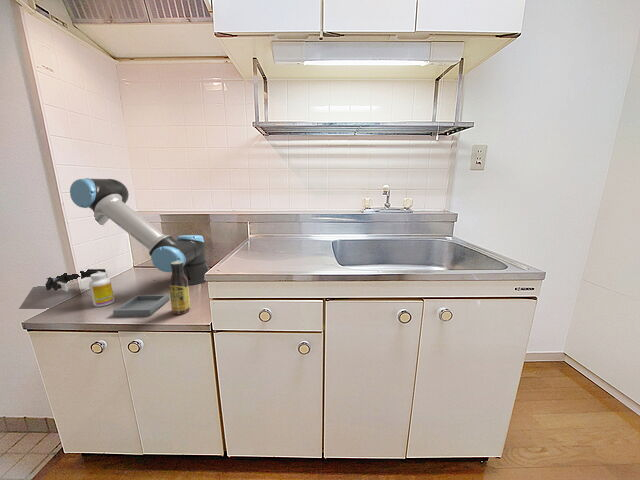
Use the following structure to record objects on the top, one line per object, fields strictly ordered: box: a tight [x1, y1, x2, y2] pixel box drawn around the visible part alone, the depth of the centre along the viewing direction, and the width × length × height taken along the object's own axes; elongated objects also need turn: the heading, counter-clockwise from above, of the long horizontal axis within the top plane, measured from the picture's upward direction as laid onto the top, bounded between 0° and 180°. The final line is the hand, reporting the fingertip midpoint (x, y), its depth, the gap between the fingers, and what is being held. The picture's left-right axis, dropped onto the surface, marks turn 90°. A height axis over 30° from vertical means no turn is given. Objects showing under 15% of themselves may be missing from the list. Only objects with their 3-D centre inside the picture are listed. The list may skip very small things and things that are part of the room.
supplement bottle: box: [88, 272, 115, 307], centre depth 103 cm, size 7×7×13 cm
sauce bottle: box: [168, 261, 191, 315], centre depth 96 cm, size 7×6×20 cm
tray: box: [112, 293, 171, 318], centre depth 100 cm, size 13×13×2 cm
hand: (87, 281), depth 107 cm, fingers open, 13 cm apart
